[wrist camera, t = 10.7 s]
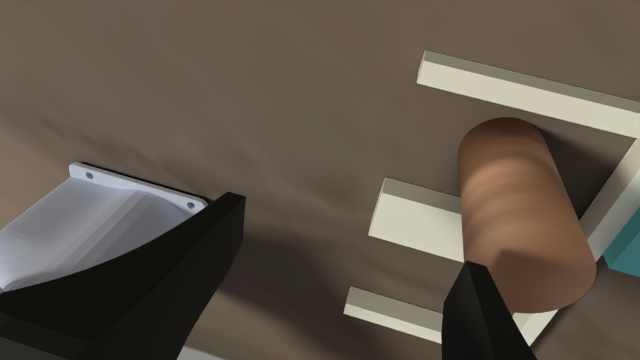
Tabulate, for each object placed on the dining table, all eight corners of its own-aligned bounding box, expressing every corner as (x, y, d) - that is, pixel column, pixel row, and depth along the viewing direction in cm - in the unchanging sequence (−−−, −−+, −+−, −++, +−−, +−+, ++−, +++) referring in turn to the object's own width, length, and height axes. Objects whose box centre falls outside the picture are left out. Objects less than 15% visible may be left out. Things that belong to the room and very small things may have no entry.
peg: (446, 176, 22) (448, 293, 16) (475, 108, 20) (491, 211, 13) (524, 197, 22) (558, 326, 15) (562, 129, 19) (623, 247, 13)
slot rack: (347, 295, 29) (340, 326, 27) (425, 49, 19) (423, 68, 17) (532, 351, 28) (539, 388, 25) (718, 121, 18) (754, 150, 16)
